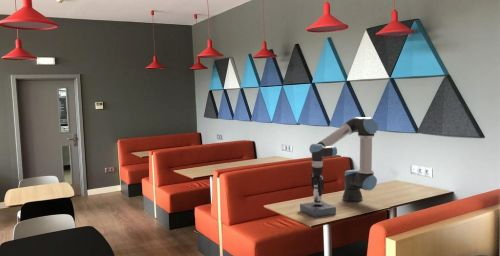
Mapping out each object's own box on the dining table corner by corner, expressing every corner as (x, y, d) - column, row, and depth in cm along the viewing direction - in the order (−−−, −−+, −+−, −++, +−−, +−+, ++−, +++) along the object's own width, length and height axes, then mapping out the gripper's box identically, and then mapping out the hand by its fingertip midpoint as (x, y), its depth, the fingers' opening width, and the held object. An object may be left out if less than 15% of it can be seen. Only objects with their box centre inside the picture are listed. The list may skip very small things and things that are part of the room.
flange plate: (321, 207, 297) (321, 201, 297) (336, 214, 281) (335, 207, 280) (300, 211, 290) (300, 204, 290) (313, 217, 274) (313, 210, 274)
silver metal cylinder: (318, 200, 288) (318, 184, 287) (322, 202, 284) (322, 185, 283) (312, 201, 286) (312, 184, 285) (316, 203, 282) (316, 186, 281)
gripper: (306, 165, 290) (306, 197, 291) (319, 169, 273) (319, 203, 275) (315, 164, 292) (315, 196, 294) (329, 168, 276) (329, 201, 278)
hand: (317, 199), depth 285 cm, fingers closed on silver metal cylinder, 5 cm apart
